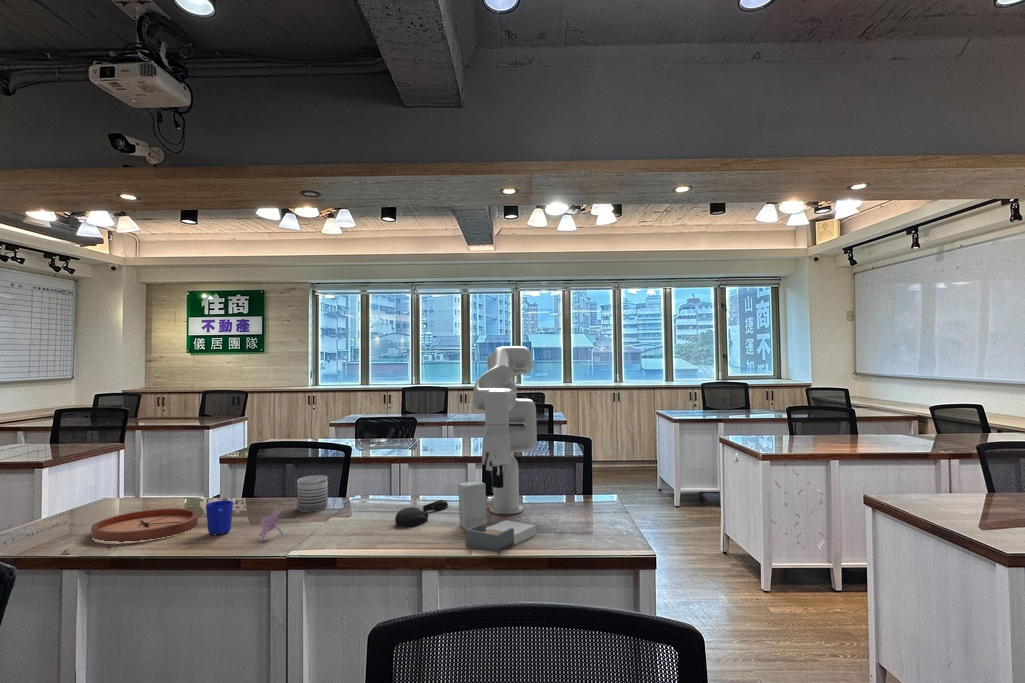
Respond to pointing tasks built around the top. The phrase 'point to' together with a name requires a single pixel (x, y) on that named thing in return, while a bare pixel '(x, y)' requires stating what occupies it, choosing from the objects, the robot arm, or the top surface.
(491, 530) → the tile
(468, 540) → the bin
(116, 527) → the clock
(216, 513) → the mug
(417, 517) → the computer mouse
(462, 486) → the skincare box
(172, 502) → the top surface
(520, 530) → the plate
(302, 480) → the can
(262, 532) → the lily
